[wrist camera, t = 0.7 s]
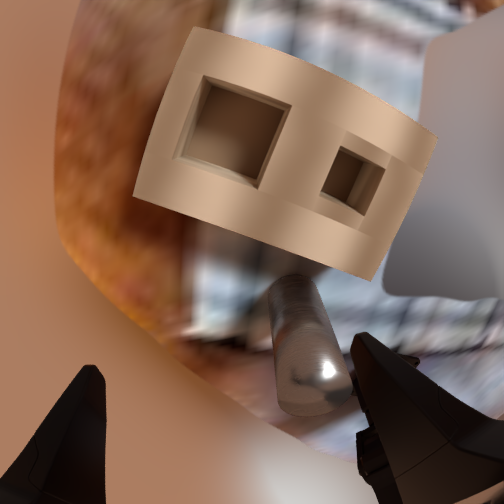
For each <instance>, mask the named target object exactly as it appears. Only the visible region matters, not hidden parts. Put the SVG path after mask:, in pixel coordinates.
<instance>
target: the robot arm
mask: <svg viewBox="0 0 504 504" xmlns="http://www.w3.org/2000/svg"><path fill="white" fill-rule="evenodd" d="M350 354H351V357H352V361H353V364H354V368H355V371H356V375H357V378H356V379H355V380H354V381H353V382H352V384H353V390H352V393H351V395H354V396H357V397H358V400H359V403H360V406H361V409H362V412H363V413H365V415H366V418H367V421H368V424H369V427H368V428H367V429H365V430H363V431H359V432H358V433H356V448H357V466H358V470H359V474H360V475H361V476H362V477H363V479H364V480H365V481H366V482H367V483H368V484H369V485H371V486H372V488H373V490H374V492H375V494H376V497H377V499H378V502H379V504H504V421H503V420H496V419H492V418H490V417H488V416H486V415H484V414H482V413H481V412H479V411H477V410H475V409H474V408H472V407H470V406H468V405H467V404H465V403H464V402H462V401H460V400H459V399H457V398H456V397H454V396H453V395H451V394H450V393H448V392H447V391H446V390H444V389H443V388H442V387H440V386H438V385H437V384H436V383H435V382H433V381H432V380H431V379H429V378H428V377H427V376H425V375H424V374H423V373H421V372H420V371H419V370H417V369H416V367H417V366H418V365H419V363H420V360H419V358H417V357H412V356H407V355H402V354H397V353H394V352H393V351H392V350H390V349H389V348H388V347H386V346H385V345H384V344H382V343H381V342H380V341H378V340H377V339H376V338H374V337H373V336H372V335H370V334H369V333H367V332H362V333H357V334H356V335H355V336H354V339H353V342H352V345H351V348H350ZM106 422H107V419H106V383H105V379H104V377H103V375H102V374H101V372H100V371H99V369H98V368H97V367H96V366H95V365H84V366H83V367H82V369H81V370H80V371H79V373H78V374H77V375H76V376H75V378H74V379H73V380H72V382H71V383H70V384H69V386H68V387H67V389H66V390H65V391H64V392H63V394H62V395H61V397H60V398H59V399H58V401H57V402H56V403H55V405H54V406H53V408H52V409H51V410H50V412H49V413H48V415H47V416H46V417H45V419H44V420H43V422H42V423H41V425H40V426H39V428H38V429H37V430H36V432H35V434H34V435H33V437H32V438H31V439H30V441H29V442H28V444H27V445H26V447H25V448H24V449H23V451H22V452H21V453H20V455H19V456H18V457H17V459H16V460H15V461H14V462H13V463H12V465H11V466H10V467H9V468H8V470H7V471H6V472H5V473H4V475H3V476H2V477H1V478H0V504H106V494H105V445H106V444H105V443H106Z"/></svg>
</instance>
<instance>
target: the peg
mask: <svg viewBox="0 0 504 504" xmlns="http://www.w3.org/2000/svg"><path fill="white" fill-rule="evenodd" d="M268 303H269V313H270V324H271V334H272V344H273V355H274V365H275V376H276V387H277V398H278V404H279V406H280V408H281V409H282V410H283V411H285V412H286V413H288V414H291V415H294V416H300V417H312V416H318V415H322V414H325V413H328V412H331V411H333V410H335V409H336V408H338V407H340V406H341V405H342V404H343V403H345V402H346V401H347V399H348V398H349V397H350V395H351V393H352V390H353V384H352V381H351V378H350V375H349V372H348V369H347V367H346V364H345V361H344V358H343V355H342V353H341V350H340V347H339V344H338V342H337V339H336V336H335V334H334V331H333V328H332V326H331V323H330V320H329V318H328V315H327V312H326V310H325V307H324V305H323V302H322V300H321V297H320V294H319V292H318V289H317V287H316V285H315V284H314V282H313V281H312V280H310V279H309V278H307V277H305V276H302V275H289V276H286V277H283V278H281V279H279V280H278V281H277V282H275V283H274V284H273V286H272V287H271V289H270V291H269V294H268Z"/></svg>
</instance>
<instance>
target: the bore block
mask: <svg viewBox="0 0 504 504" xmlns="http://www.w3.org/2000/svg"><path fill="white" fill-rule="evenodd" d="M437 139H438V137H437V136H435V135H434V134H433V133H431V132H430V131H429V130H427V129H426V128H424V127H423V126H422V125H420V124H419V123H417V122H416V121H414V120H413V119H411V118H410V117H408V116H407V115H405V114H404V113H402V112H401V111H399V110H398V109H396V108H394V107H393V106H391V105H390V104H388V103H386V102H385V101H383V100H381V99H380V98H378V97H376V96H374V95H373V94H371V93H369V92H367V91H365V90H364V89H362V88H360V87H358V86H356V85H354V84H352V83H351V82H349V81H347V80H345V79H343V78H341V77H339V76H337V75H335V74H332V73H330V72H328V71H326V70H324V69H322V68H320V67H317V66H315V65H313V64H310V63H308V62H306V61H303V60H301V59H299V58H296V57H294V56H291V55H288V54H286V53H283V52H281V51H278V50H275V49H272V48H270V47H267V46H264V45H261V44H258V43H255V42H252V41H248V40H245V39H242V38H238V37H235V36H231V35H228V34H224V33H220V32H216V31H212V30H208V29H204V28H199V27H195V26H194V27H193V29H192V31H191V33H190V35H189V37H188V39H187V41H186V43H185V46H184V48H183V50H182V52H181V54H180V57H179V59H178V61H177V64H176V66H175V68H174V71H173V73H172V76H171V78H170V81H169V83H168V86H167V88H166V91H165V93H164V96H163V99H162V101H161V104H160V107H159V110H158V112H157V115H156V118H155V121H154V124H153V127H152V130H151V133H150V136H149V139H148V142H147V146H146V149H145V152H144V156H143V159H142V162H141V166H140V169H139V173H138V177H137V180H136V184H135V188H134V192H133V197H136V198H139V199H142V200H145V201H148V202H151V203H153V204H156V205H159V206H162V207H165V208H168V209H171V210H174V211H177V212H179V213H182V214H185V215H188V216H191V217H194V218H197V219H199V220H202V221H205V222H208V223H211V224H214V225H217V226H219V227H222V228H225V229H228V230H231V231H233V232H236V233H239V234H242V235H245V236H248V237H250V238H253V239H256V240H259V241H261V242H264V243H267V244H270V245H273V246H275V247H278V248H281V249H284V250H286V251H289V252H292V253H295V254H297V255H300V256H303V257H306V258H308V259H311V260H314V261H317V262H319V263H322V264H325V265H327V266H330V267H333V268H336V269H338V270H341V271H344V272H346V273H349V274H352V275H354V276H357V277H360V278H362V279H365V280H368V281H370V282H371V280H372V278H373V276H374V275H375V273H376V271H377V269H378V267H379V266H380V264H381V262H382V260H383V258H384V256H385V255H386V253H387V251H388V249H389V247H390V245H391V243H392V241H393V239H394V237H395V235H396V233H397V231H398V229H399V227H400V225H401V223H402V221H403V219H404V217H405V215H406V213H407V211H408V209H409V206H410V204H411V202H412V200H413V198H414V195H415V193H416V191H417V189H418V186H419V184H420V182H421V180H422V177H423V175H424V172H425V170H426V168H427V165H428V163H429V160H430V158H431V155H432V152H433V150H434V147H435V144H436V142H437Z"/></svg>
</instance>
